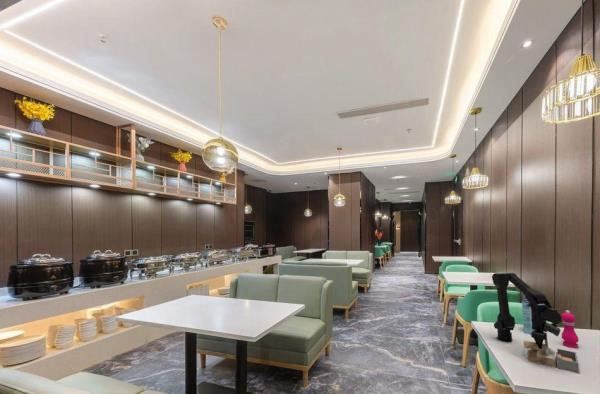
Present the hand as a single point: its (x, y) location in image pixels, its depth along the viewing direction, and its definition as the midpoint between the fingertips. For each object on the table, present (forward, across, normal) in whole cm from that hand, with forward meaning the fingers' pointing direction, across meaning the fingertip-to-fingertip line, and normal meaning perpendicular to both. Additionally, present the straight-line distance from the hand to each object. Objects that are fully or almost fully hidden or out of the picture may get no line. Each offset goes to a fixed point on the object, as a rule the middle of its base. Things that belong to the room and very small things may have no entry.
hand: (540, 347), depth 151 cm
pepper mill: (+6, +31, -13) cm, 34 cm away
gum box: (+6, +47, +3) cm, 47 cm away
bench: (+5, 0, 0) cm, 5 cm away
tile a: (+3, -3, -7) cm, 8 cm away
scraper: (+1, 0, +2) cm, 2 cm away
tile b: (+4, +3, -10) cm, 11 cm away
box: (+5, 0, -10) cm, 11 cm away
